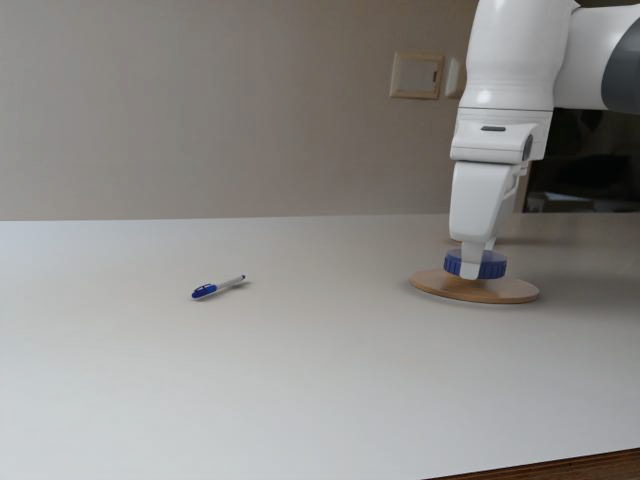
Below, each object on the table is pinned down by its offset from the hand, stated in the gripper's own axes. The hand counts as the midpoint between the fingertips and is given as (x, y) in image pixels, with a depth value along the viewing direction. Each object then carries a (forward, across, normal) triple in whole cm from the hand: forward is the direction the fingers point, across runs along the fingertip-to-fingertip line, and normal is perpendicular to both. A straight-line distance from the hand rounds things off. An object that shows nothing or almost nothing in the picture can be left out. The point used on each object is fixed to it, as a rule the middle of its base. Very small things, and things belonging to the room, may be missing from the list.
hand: (474, 271), depth 80 cm
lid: (-1, 0, 0) cm, 1 cm away
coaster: (+2, 0, 0) cm, 2 cm away
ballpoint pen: (+2, +19, -22) cm, 29 cm away
